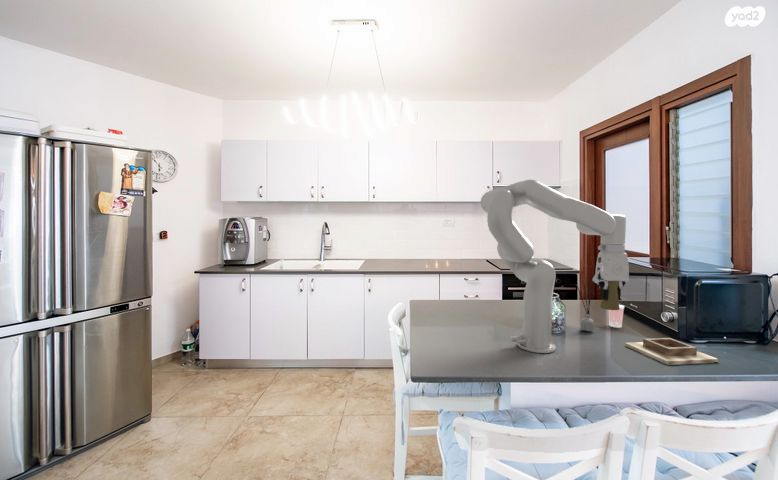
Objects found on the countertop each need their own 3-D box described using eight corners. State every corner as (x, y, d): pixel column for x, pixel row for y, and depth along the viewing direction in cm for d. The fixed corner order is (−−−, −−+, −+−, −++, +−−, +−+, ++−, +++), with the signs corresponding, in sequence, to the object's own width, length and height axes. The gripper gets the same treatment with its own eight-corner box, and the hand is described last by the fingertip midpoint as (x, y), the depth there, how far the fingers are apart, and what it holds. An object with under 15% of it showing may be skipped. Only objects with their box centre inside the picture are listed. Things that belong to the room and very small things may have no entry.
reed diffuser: (597, 335, 149) (599, 285, 148) (578, 333, 151) (580, 284, 150) (588, 327, 159) (590, 280, 158) (571, 326, 161) (572, 280, 160)
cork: (619, 311, 132) (620, 279, 131) (599, 308, 135) (601, 278, 134) (619, 307, 137) (620, 277, 136) (600, 305, 140) (601, 276, 139)
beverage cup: (620, 328, 158) (621, 295, 157) (604, 325, 163) (605, 293, 162) (625, 326, 162) (627, 294, 161) (610, 323, 166) (611, 291, 166)
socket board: (667, 364, 119) (668, 353, 118) (625, 345, 137) (625, 335, 136) (717, 362, 121) (718, 351, 121) (669, 344, 139) (670, 334, 139)
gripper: (597, 249, 130) (595, 302, 131) (641, 249, 132) (639, 301, 133) (584, 248, 137) (582, 297, 138) (625, 248, 139) (623, 297, 140)
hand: (610, 299), depth 136 cm, fingers closed on cork, 4 cm apart
